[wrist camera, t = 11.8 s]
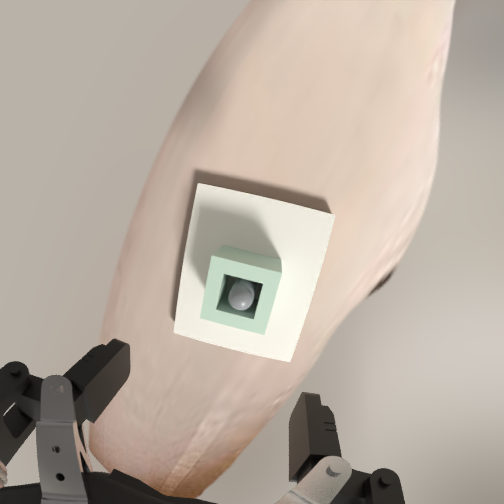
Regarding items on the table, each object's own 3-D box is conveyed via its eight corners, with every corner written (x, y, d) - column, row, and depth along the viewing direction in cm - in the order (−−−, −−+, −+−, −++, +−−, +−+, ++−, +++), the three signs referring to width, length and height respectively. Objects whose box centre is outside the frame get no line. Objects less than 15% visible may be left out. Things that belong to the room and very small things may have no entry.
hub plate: (202, 183, 26) (177, 180, 19) (332, 214, 25) (351, 220, 18) (178, 326, 29) (154, 359, 23) (289, 354, 29) (291, 394, 22)
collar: (222, 244, 25) (211, 255, 21) (281, 259, 25) (282, 273, 21) (211, 298, 27) (199, 318, 22) (266, 313, 26) (264, 335, 22)
